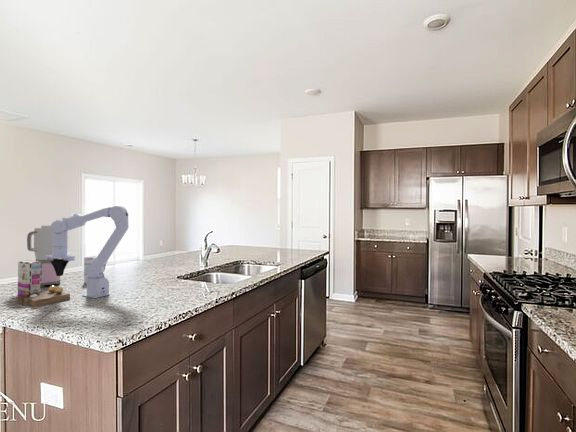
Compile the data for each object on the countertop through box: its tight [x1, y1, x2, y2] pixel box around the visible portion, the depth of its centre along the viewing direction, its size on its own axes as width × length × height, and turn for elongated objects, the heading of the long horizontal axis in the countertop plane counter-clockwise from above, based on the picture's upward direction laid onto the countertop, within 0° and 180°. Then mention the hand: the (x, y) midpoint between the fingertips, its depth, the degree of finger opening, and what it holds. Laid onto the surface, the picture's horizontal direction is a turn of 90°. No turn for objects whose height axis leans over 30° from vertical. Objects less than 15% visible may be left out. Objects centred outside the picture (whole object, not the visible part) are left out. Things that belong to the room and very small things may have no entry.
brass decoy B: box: [47, 285, 57, 293], centre depth 151 cm, size 3×3×3 cm
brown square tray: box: [16, 290, 71, 308], centre depth 146 cm, size 14×14×2 cm
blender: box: [26, 224, 61, 288], centre depth 176 cm, size 16×12×32 cm
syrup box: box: [83, 255, 98, 284], centre depth 187 cm, size 6×6×14 cm
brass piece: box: [55, 286, 64, 294], centre depth 149 cm, size 3×3×3 cm
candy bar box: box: [17, 259, 42, 297], centre depth 153 cm, size 11×5×16 cm, turn 62°
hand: (59, 275), depth 153 cm, fingers closed
